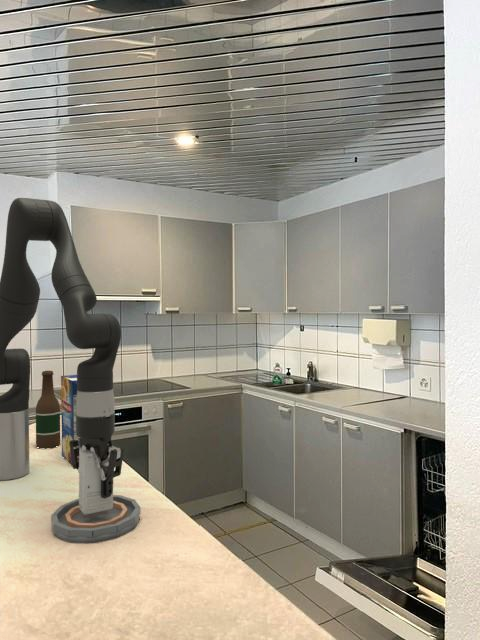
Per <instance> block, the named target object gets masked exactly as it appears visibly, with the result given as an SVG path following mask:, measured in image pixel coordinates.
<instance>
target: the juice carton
mask: <svg viewBox="0 0 480 640" xmlns="http://www.w3.org/2000/svg"><path fill="white" fill-rule="evenodd" d="M60 387H61V388H60V391H61V392H60V395H61V396H60V400H61V401H60V404H61V406H60V419H61V457H62V456H63V457H64V458H63V457H62V458H63V459H64V460H65V459H66V460H67V461H68V462H69V463H70V464H71V465H72V459H71V452H70V444H69V442H70V441H71V440H75V439H78V438H80V437H78V436H77V435H76V398H77V374H71V375H61V376H60ZM66 460H65V461H66ZM67 461H66V462H67ZM68 462H67V463H68ZM77 462H79V456H77ZM69 463H68V464H69ZM70 464H69V465H70Z"/></svg>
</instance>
